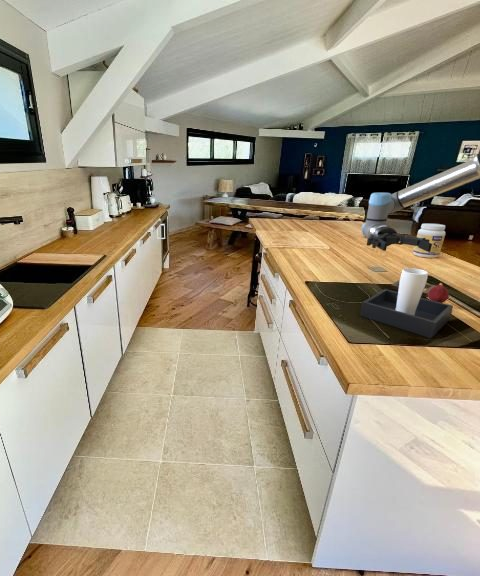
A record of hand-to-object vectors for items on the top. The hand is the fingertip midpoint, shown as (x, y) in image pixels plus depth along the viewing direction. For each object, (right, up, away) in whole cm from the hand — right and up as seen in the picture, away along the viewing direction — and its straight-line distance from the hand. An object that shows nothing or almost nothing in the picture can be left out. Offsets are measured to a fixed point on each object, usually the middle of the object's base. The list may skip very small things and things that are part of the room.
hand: (407, 247), depth 105 cm
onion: (+15, -20, +7) cm, 25 cm away
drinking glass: (-3, -23, -3) cm, 23 cm away
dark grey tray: (-3, -23, -3) cm, 24 cm away
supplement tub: (+57, +4, +68) cm, 89 cm away
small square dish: (+17, -14, +21) cm, 30 cm away
